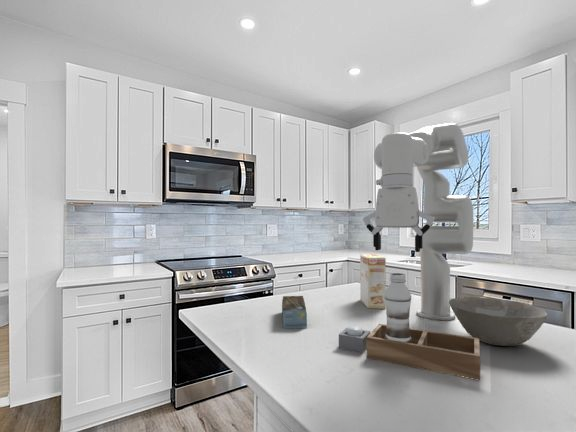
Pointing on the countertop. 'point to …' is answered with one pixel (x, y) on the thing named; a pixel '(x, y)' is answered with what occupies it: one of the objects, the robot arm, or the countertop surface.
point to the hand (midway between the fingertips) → (397, 250)
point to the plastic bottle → (398, 309)
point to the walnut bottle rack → (428, 351)
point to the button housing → (353, 341)
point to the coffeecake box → (372, 280)
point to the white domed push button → (354, 331)
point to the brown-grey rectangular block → (294, 312)
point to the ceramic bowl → (498, 319)
